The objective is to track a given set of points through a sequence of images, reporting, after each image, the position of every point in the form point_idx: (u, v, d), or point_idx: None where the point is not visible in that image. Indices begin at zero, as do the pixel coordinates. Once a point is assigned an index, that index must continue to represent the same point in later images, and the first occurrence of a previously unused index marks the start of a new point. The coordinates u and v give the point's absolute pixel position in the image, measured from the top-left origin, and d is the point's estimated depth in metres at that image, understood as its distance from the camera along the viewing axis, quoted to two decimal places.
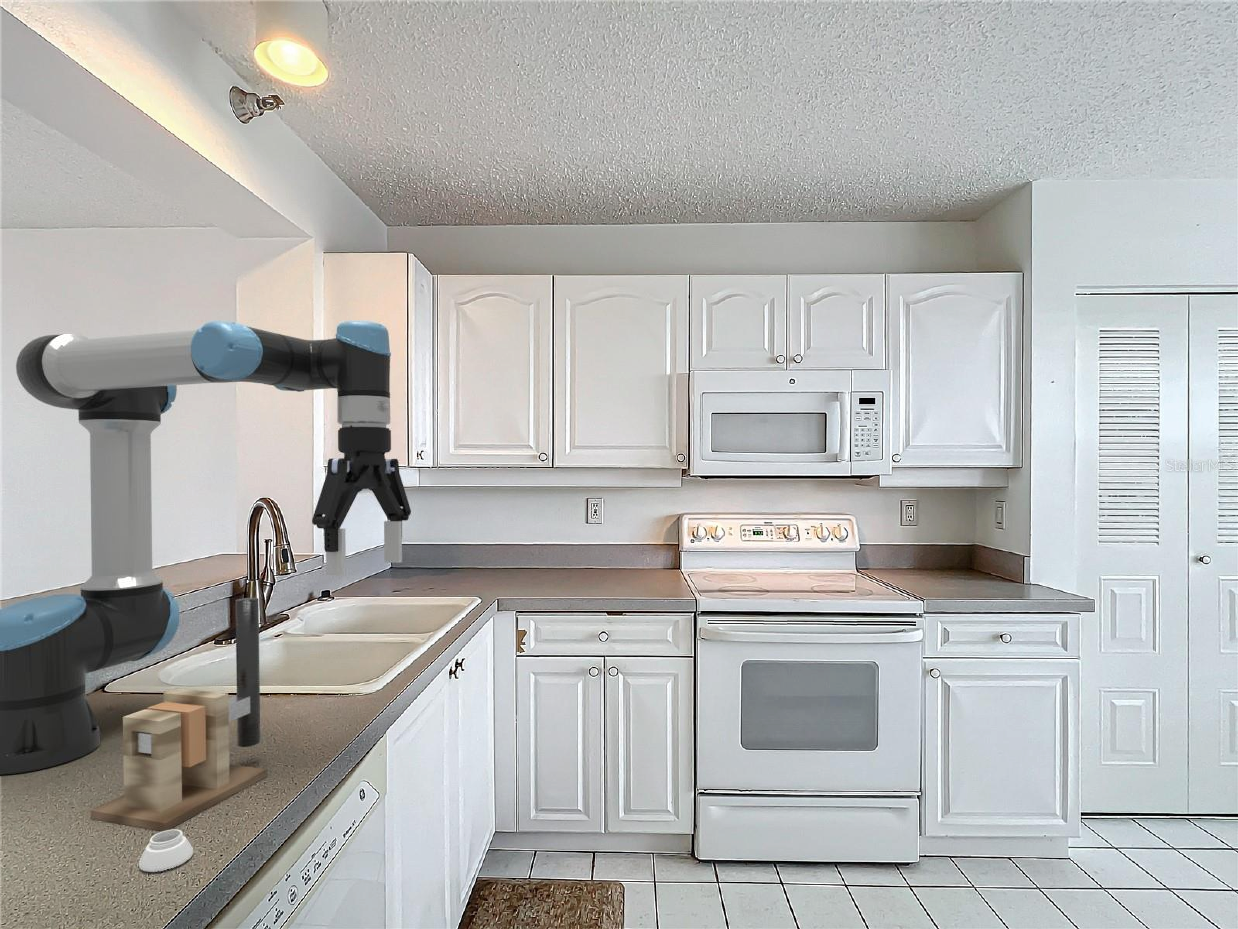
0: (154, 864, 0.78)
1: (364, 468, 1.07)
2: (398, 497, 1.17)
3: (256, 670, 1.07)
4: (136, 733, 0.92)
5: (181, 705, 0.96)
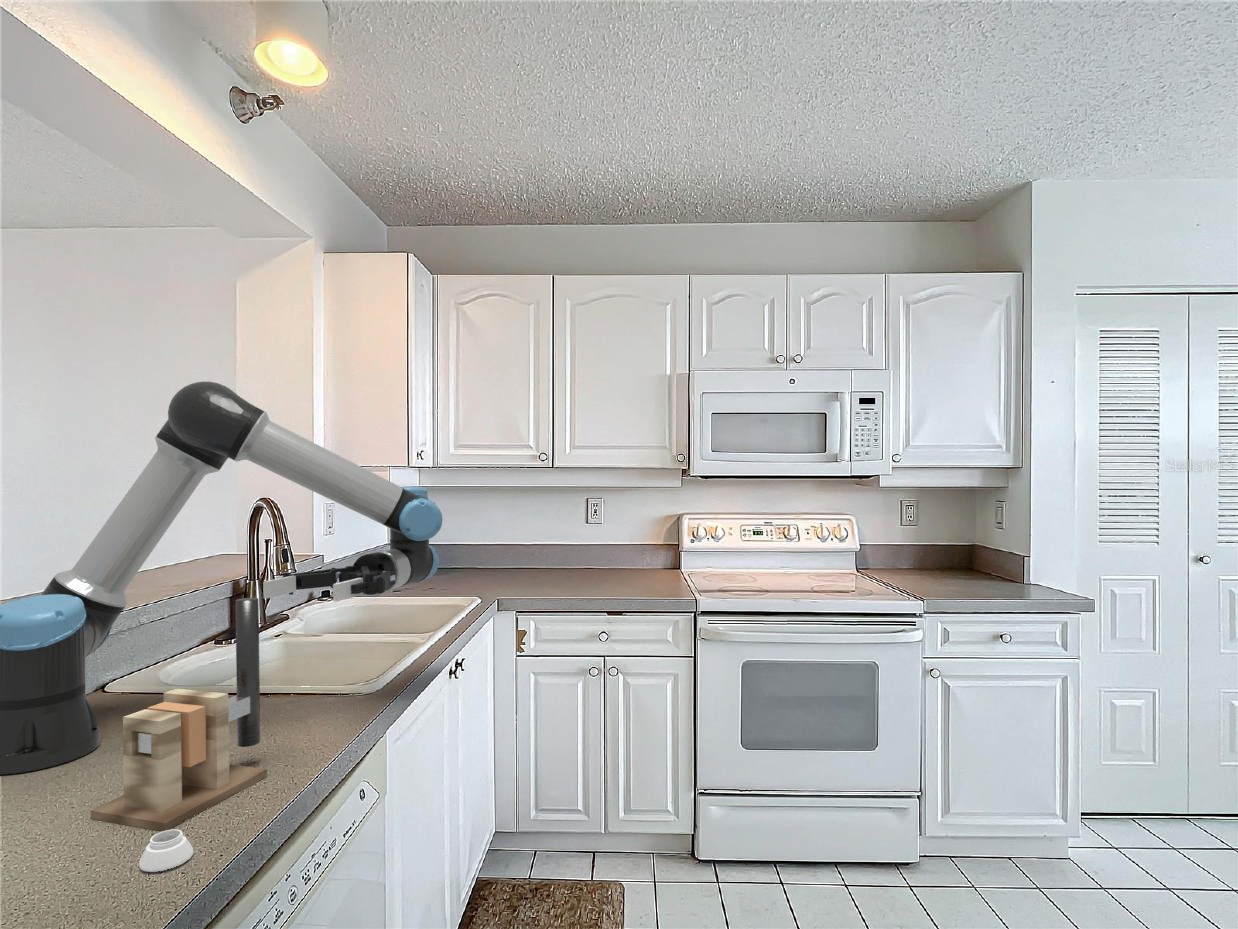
0: (154, 864, 0.78)
1: None
2: None
3: (256, 670, 1.07)
4: (136, 733, 0.92)
5: (181, 705, 0.96)
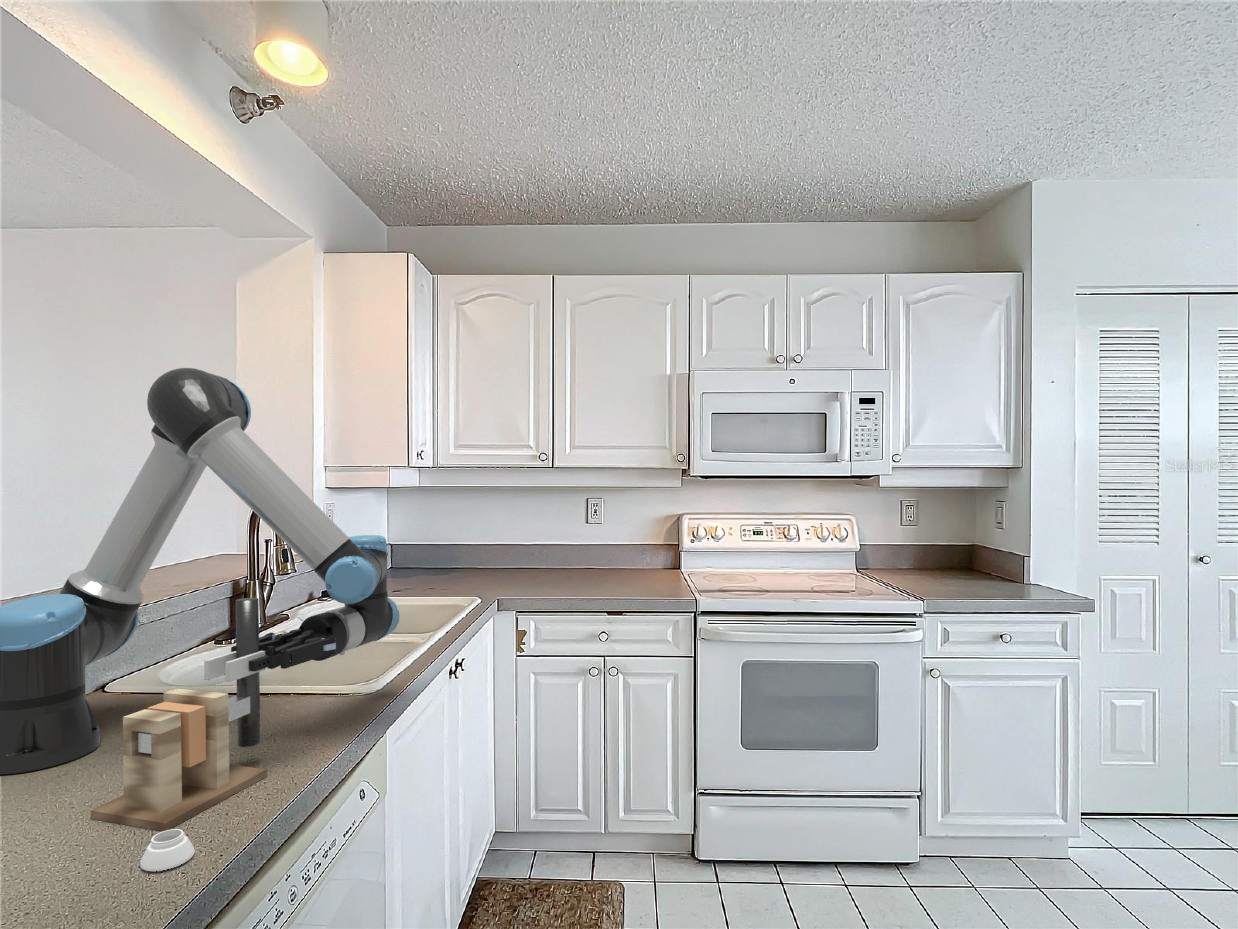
0: (156, 864, 0.78)
1: None
2: None
3: None
4: (136, 733, 0.92)
5: (181, 705, 0.96)
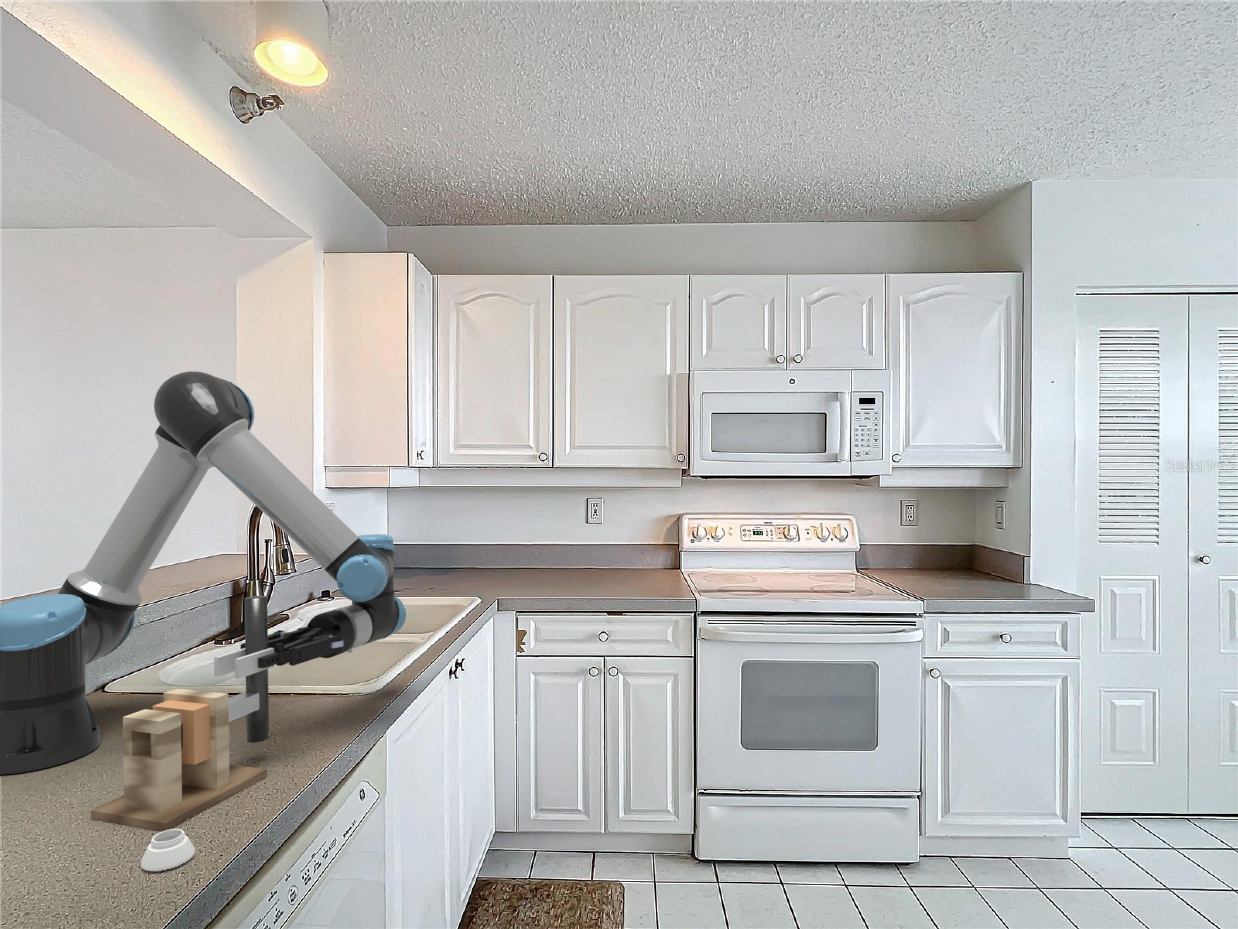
0: (156, 864, 0.78)
1: None
2: None
3: None
4: (136, 733, 0.92)
5: (186, 703, 0.97)
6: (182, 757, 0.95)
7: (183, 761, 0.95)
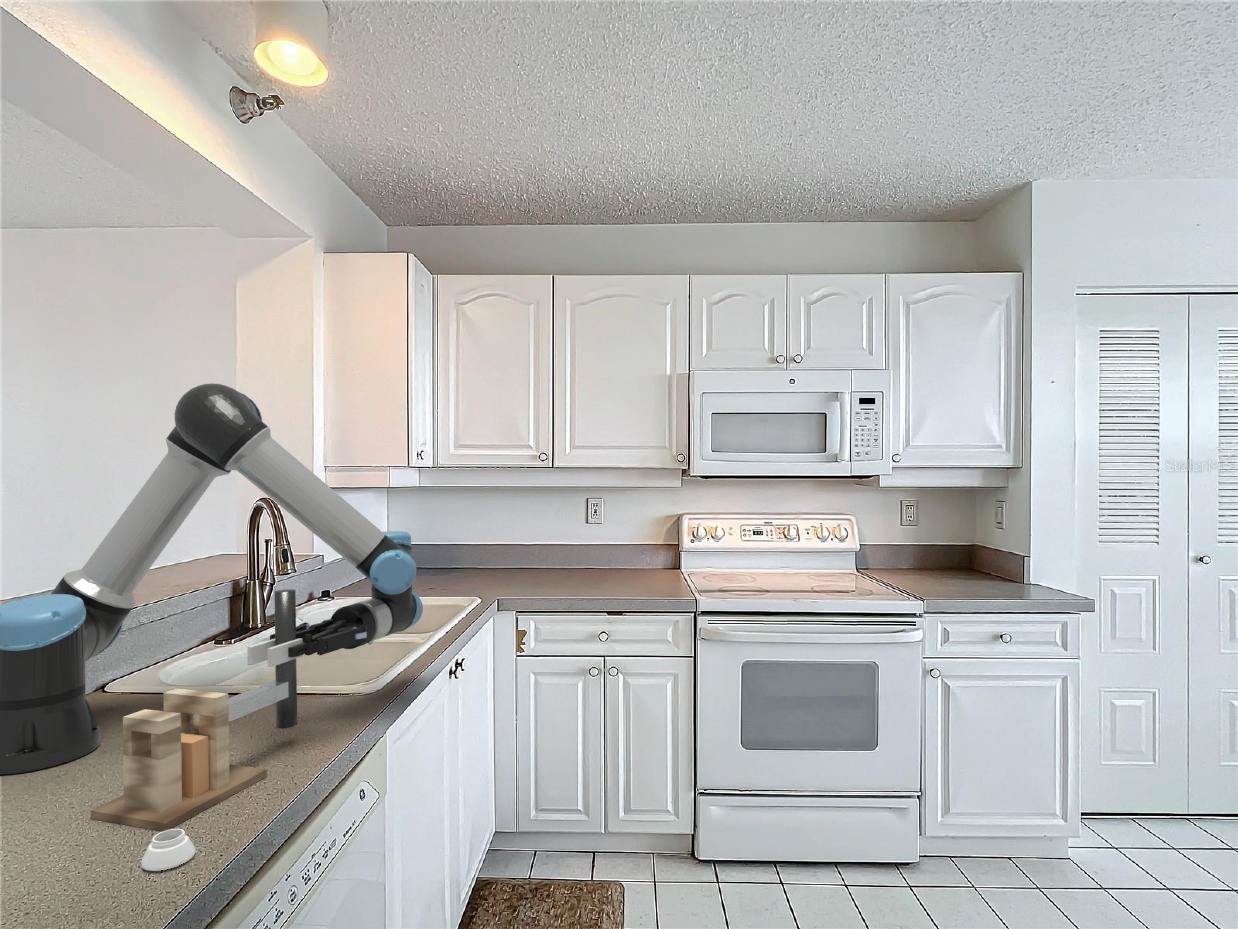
0: (157, 863, 0.78)
1: None
2: None
3: None
4: (136, 733, 0.92)
5: (184, 735, 0.97)
6: None
7: None
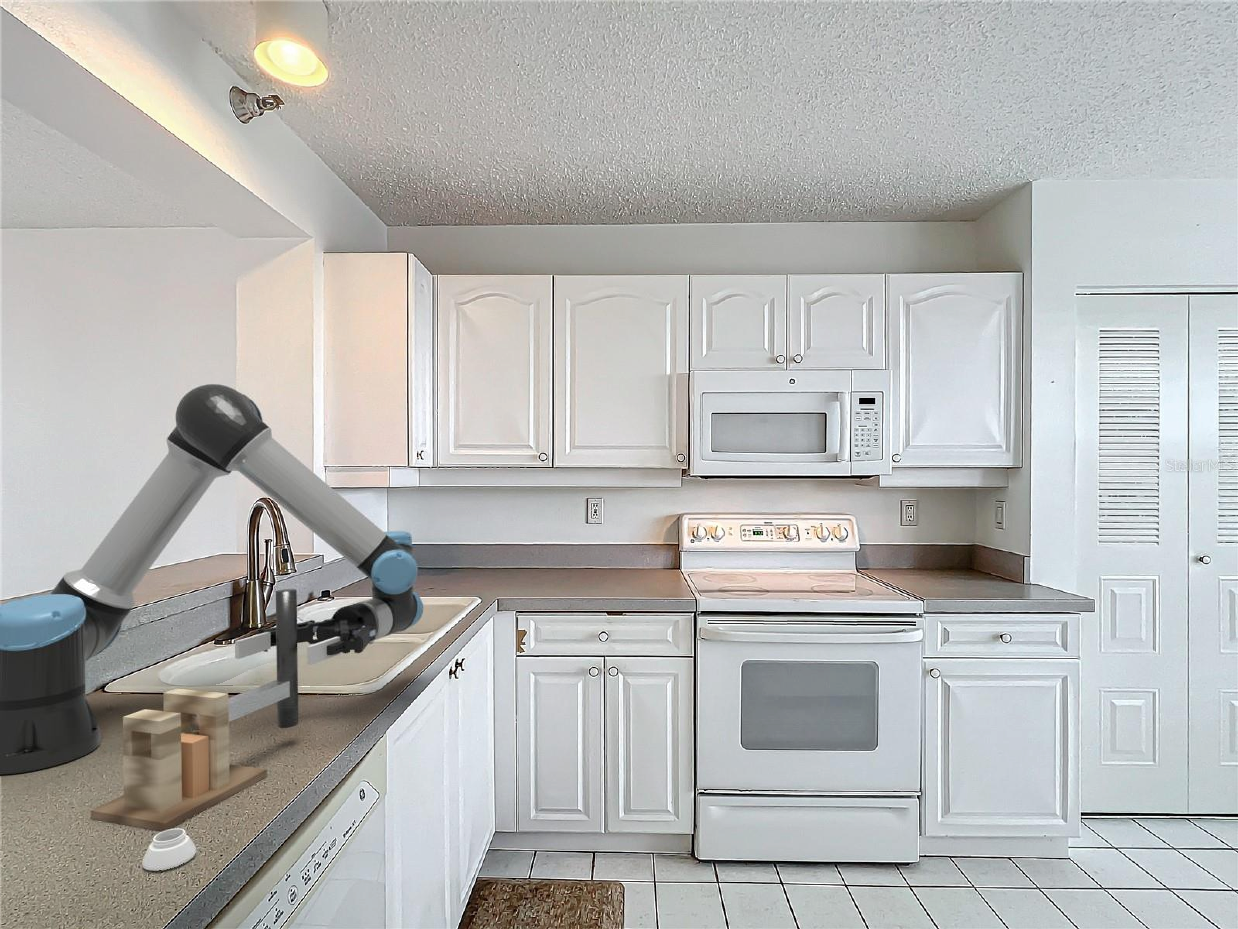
0: (158, 863, 0.78)
1: None
2: None
3: (295, 656, 1.14)
4: (136, 733, 0.92)
5: (184, 734, 0.97)
6: None
7: None
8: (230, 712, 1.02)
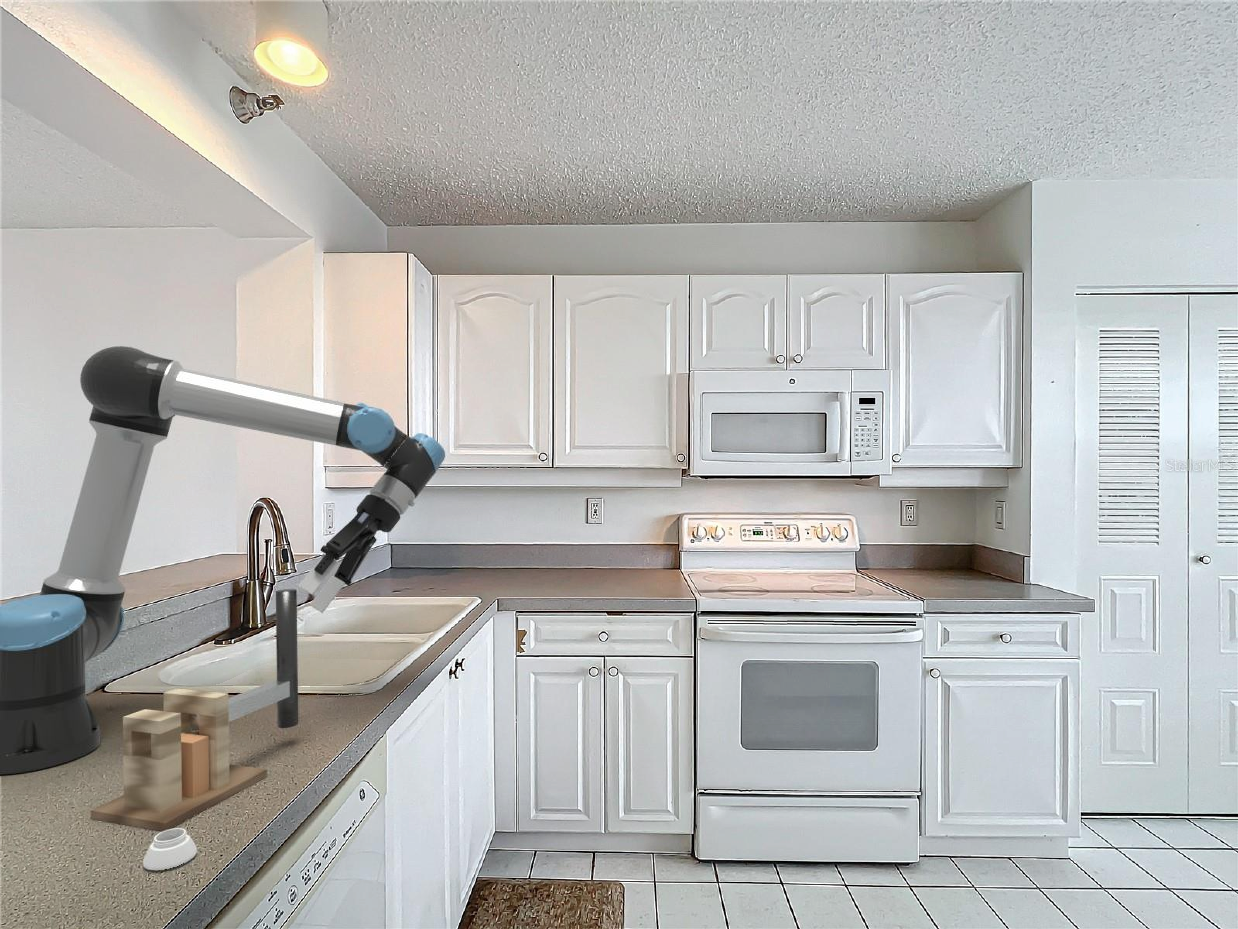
0: (159, 863, 0.78)
1: (369, 532, 1.32)
2: None
3: (295, 656, 1.14)
4: (136, 733, 0.92)
5: (184, 734, 0.97)
6: None
7: None
8: (230, 712, 1.02)
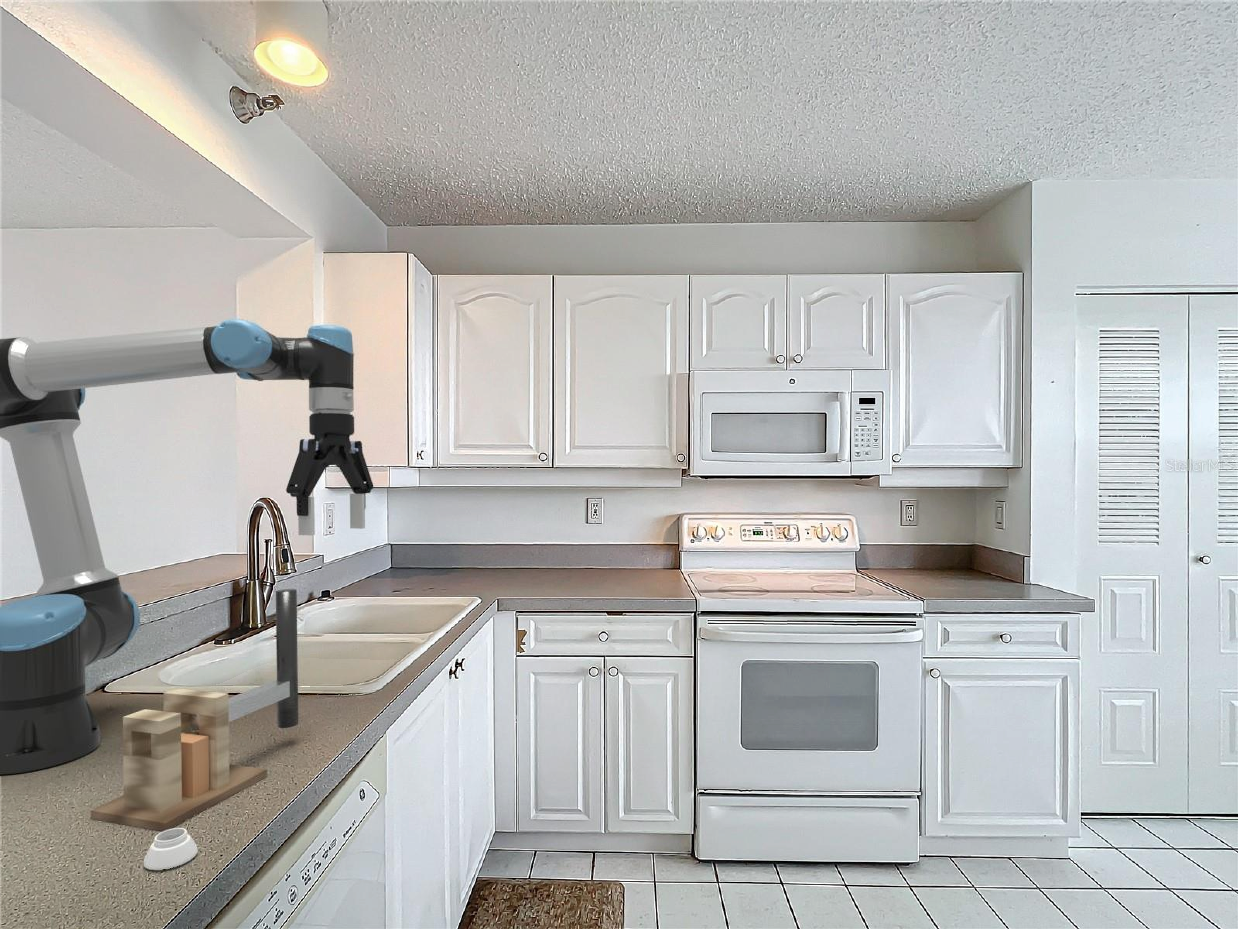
0: (159, 862, 0.79)
1: (330, 448, 1.29)
2: (361, 474, 1.38)
3: (295, 656, 1.14)
4: (136, 733, 0.92)
5: (184, 734, 0.97)
6: None
7: None
8: (230, 712, 1.02)
